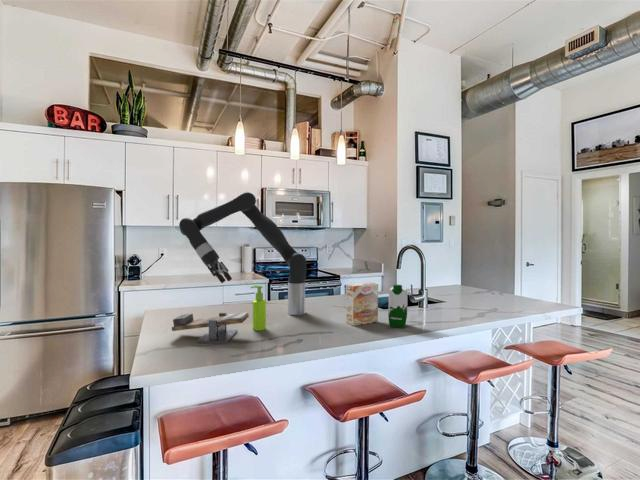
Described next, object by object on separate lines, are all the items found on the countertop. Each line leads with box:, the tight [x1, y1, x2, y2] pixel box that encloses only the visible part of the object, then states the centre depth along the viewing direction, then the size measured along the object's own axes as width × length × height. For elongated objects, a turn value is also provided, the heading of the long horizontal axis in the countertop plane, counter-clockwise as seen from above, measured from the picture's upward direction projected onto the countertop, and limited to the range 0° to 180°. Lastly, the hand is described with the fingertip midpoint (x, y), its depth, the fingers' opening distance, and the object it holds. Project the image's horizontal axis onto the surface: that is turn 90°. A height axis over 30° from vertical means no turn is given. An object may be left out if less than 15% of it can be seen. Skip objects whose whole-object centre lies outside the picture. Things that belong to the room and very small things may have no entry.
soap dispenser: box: [250, 285, 267, 331], centre depth 161 cm, size 6×7×20 cm
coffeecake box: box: [345, 281, 379, 327], centre depth 173 cm, size 15×7×20 cm, turn 117°
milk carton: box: [387, 284, 408, 329], centre depth 168 cm, size 9×9×20 cm
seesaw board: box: [171, 311, 250, 332], centre depth 148 cm, size 30×10×5 cm, turn 86°
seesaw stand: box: [196, 312, 238, 345], centre depth 148 cm, size 12×16×9 cm
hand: (227, 281), depth 165 cm, fingers open, 8 cm apart
